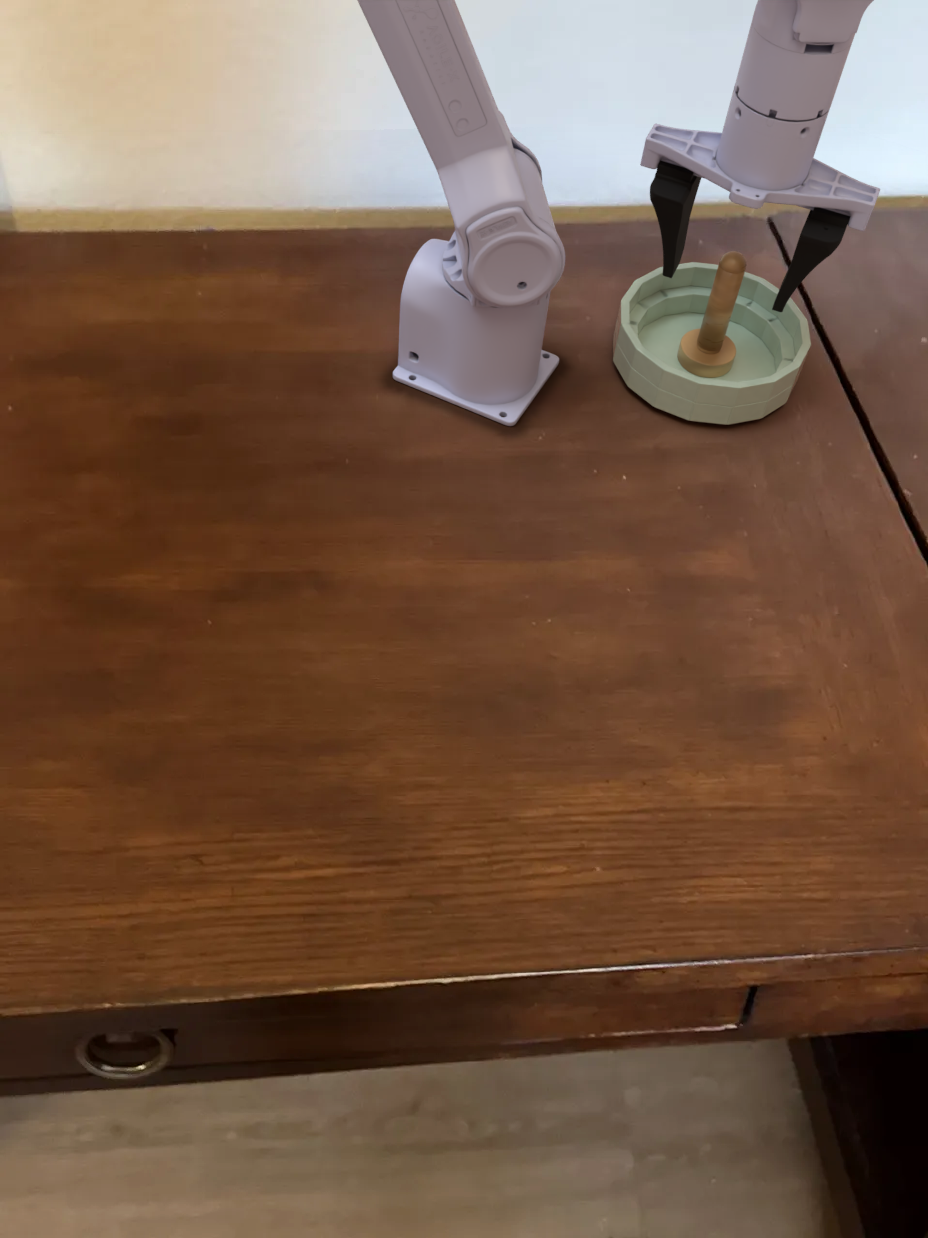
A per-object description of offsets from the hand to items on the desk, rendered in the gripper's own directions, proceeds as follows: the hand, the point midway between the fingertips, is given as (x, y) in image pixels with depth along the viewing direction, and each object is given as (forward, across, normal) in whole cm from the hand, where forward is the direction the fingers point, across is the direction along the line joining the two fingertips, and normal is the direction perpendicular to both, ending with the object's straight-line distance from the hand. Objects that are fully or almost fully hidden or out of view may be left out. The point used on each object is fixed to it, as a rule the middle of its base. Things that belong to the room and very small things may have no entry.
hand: (725, 285), depth 82 cm
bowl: (+7, 0, 0) cm, 7 cm away
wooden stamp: (+6, 0, 0) cm, 6 cm away
